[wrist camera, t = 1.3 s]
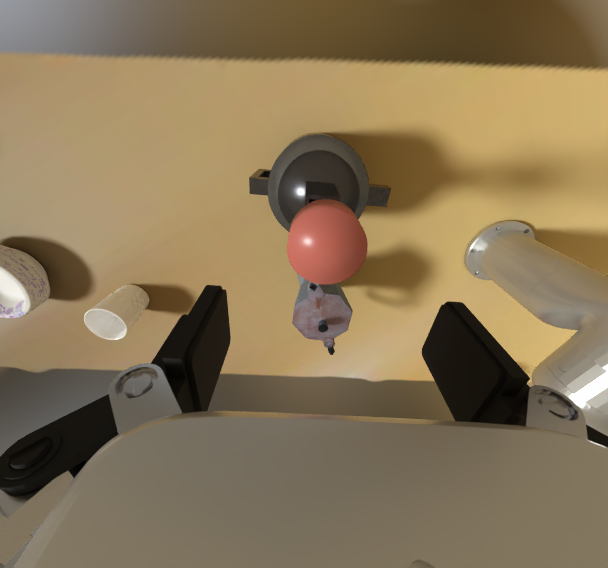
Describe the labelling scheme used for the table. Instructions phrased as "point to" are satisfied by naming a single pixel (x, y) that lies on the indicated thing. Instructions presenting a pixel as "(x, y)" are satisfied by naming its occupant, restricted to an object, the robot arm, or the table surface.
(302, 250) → the red rounded piece
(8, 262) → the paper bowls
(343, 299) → the moka pot
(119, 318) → the white cup
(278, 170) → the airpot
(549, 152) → the table surface
